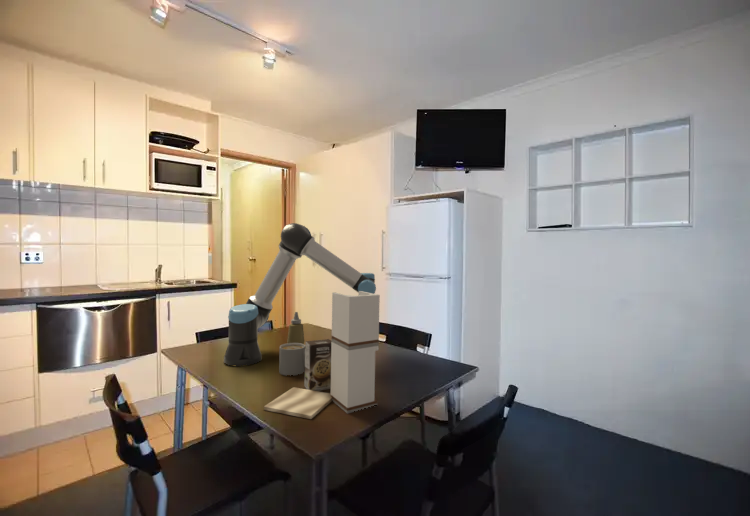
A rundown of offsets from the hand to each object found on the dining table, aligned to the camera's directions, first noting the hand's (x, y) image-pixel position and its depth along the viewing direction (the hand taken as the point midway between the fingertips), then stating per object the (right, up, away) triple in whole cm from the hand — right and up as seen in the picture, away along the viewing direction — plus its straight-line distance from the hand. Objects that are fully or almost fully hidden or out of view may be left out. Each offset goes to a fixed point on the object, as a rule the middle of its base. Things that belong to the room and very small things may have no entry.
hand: (335, 318), depth 134 cm
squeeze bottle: (-23, -21, +35) cm, 47 cm away
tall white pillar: (+8, -23, -22) cm, 33 cm away
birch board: (-8, -22, -24) cm, 34 cm away
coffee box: (-4, -22, -11) cm, 25 cm away
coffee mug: (-16, -22, +4) cm, 27 cm away
